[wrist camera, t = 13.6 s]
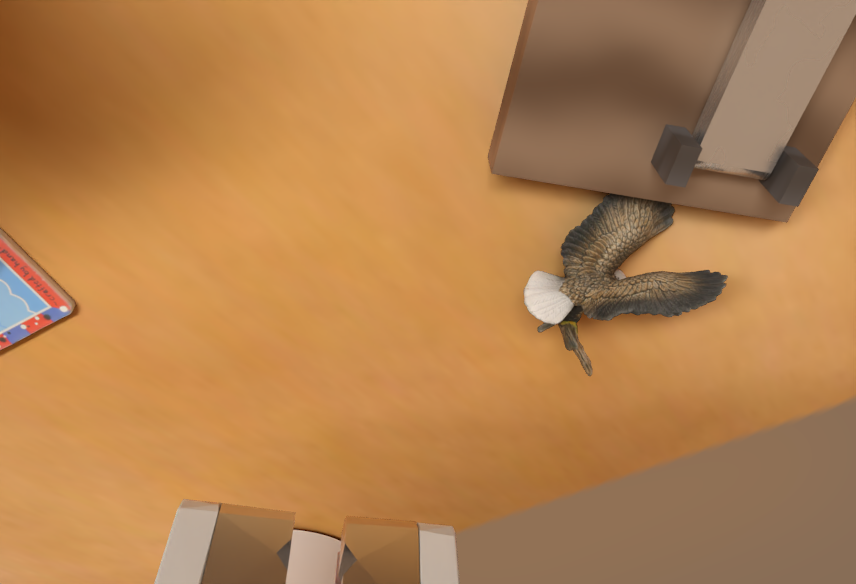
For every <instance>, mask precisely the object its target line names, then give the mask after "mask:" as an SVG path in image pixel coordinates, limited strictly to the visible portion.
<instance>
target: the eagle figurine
mask: <svg viewBox="0 0 856 584" xmlns="http://www.w3.org/2000/svg"><path fill="white" fill-rule="evenodd" d="M671 204H672V203H666V202H660V201H654V200H648V199H642V198H636V197H630V196H624V195H618V194H612V193H610V195H606V196H605V197H604V198H603V202H602V203H600V204H599V205H598V206H597V207H595V208H594V210H593V214H592V215H589V216H588V217H587V218H586V219H585V220H583V221H582V223H581V226H576V227H575V228H574V229H573V230H570V232H569V234H568V235H567V236H566V239H565V242H564V243H563V244H562V246H561V248H562V251H561V255H562V256H563V258H564V259H563V264H564V266H566V268H565V269H564V274H565V277H559V276H555V275H552V274H549V273H546V272H543V271H535V272H534V273H533V274H532V275H531V277H530V278H529V281H528V283H527V285H526V287H525V288H524V296H525V298H524V303H525V305H526V306H527V309H528V311H529V312H530V313H531V314H532V315H534V316H535V317H536V318H537V319H539V320H541V321H543V322H544V323H543V324H542V325H540V326H539V327H538V332H543V331H544V330H546V329H548V328H550V327H552V326H554V325H555V324H558V325H559V327H560V330H561V333H562V335H563V339H564V343H565V347H566V349H567V350H569V351H571V350H573V351H574V353H575V354H576V356H577V357H578V358H579V360H580V362H581V364H582V366H583V368H584V370H585V372H586V373H587V374H588V376H591V375H592V366H591V361H590V359H589V358H588V356H587V355H586V353H585V351H584V349H583V346H582V345H581V344H580V342H579V340H578V336H577V335H578V330H577V324H576V323H577V322H578V321H579V319H580V318H581V315H582V313H583V312H584V314H585V315H587V317H588V318H592V317H593V319H597V320H611V319H612V318H613V317H615V316H618V315H620V314H622V313H624V314H629V313H633V314H635V315H640V314H647V313H650V314H652V315H657V314H661V315H663V316H666V317H672V316H673V315H676V316H679V315H681V314H682V312H689V311H690V310H691V309H697V308H698V307H700V306H703V305H706V304H707V303H709V302H712V301H714V300H716V297H717V296H718V295H720V294H721V293H722V289H723V288H724V287H725V286H726V284H725V283H724V282H725V281H726V279H727V278H728V276H727V275H721V273H720V272H713V273H710V271H709V270H705V271H697V272H685V273H675V272H664V271H659V272H651V273H646V274H642V275H637V276H633V277H628V278H626V276H625V274H624V273H623V272H622V271H621V270H617V268H618V267H619V266H620V265H621V264H622V263H623V262H624V260H625V259H626V258H627V257H628V256H629V255H631V254H632V253H633V252H634V251H635V250H637V249H638V248H639V247H641V246H642V245H643V244H644V243H645V242H646V241H647V240H649V239H650V238H652V237H653V236H655V235H657V234H658V233H659V232H661V231H663V230H665V229H666V228H668V227H669V226H670V225H672V223H673V219H672V218H671V217H672V215H673V213H674V211H675V209H674V208H673V207H672V206H671Z"/></svg>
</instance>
